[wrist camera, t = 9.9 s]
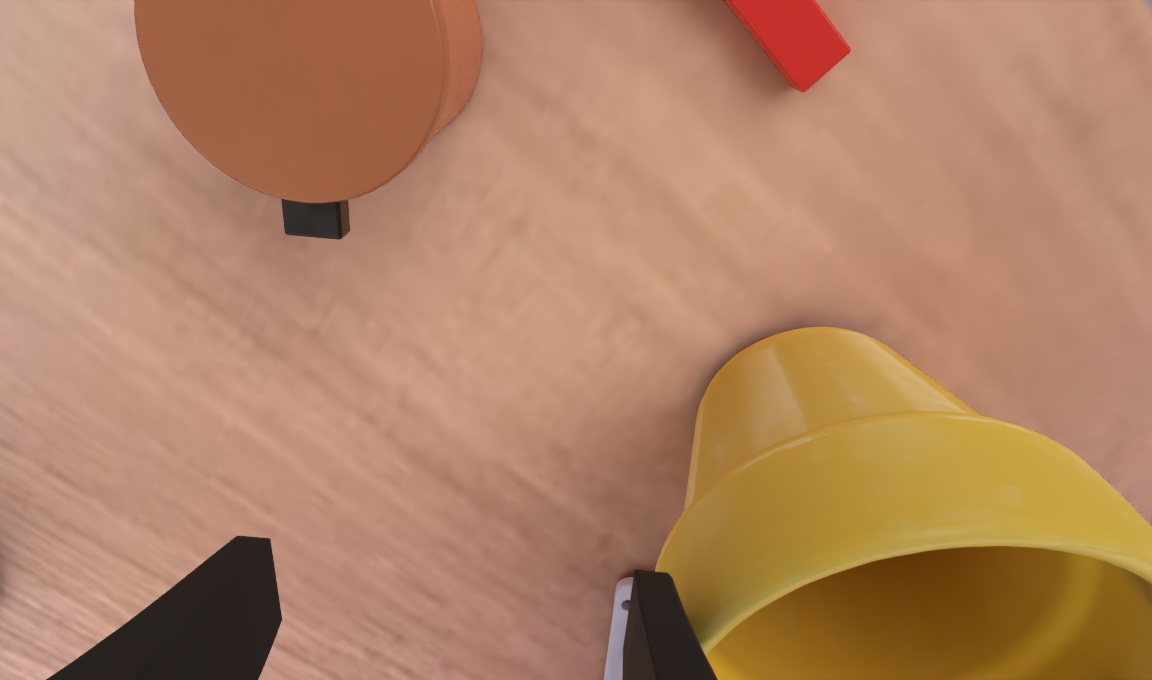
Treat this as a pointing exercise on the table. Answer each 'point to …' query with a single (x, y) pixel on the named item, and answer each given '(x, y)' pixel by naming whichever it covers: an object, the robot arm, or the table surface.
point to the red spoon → (793, 37)
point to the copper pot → (311, 90)
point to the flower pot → (896, 531)
